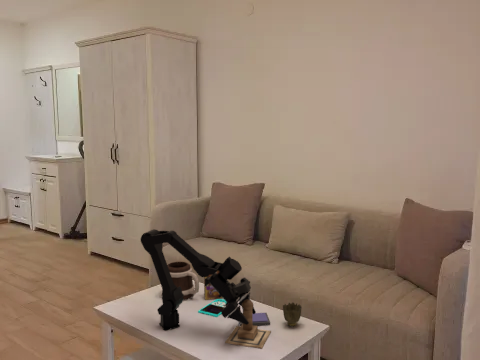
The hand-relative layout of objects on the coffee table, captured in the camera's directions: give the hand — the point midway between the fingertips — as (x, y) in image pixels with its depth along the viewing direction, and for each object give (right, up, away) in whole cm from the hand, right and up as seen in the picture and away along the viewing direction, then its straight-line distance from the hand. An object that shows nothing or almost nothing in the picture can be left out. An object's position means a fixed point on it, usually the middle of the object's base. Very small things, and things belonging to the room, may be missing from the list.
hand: (251, 318), depth 159 cm
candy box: (-16, -3, +39) cm, 42 cm away
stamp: (-1, -7, +1) cm, 7 cm away
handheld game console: (-14, -5, +28) cm, 32 cm away
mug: (-31, -3, +41) cm, 52 cm away
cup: (+16, -6, +11) cm, 21 cm away
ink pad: (+1, -6, +15) cm, 16 cm away
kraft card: (-1, -8, +1) cm, 8 cm away
